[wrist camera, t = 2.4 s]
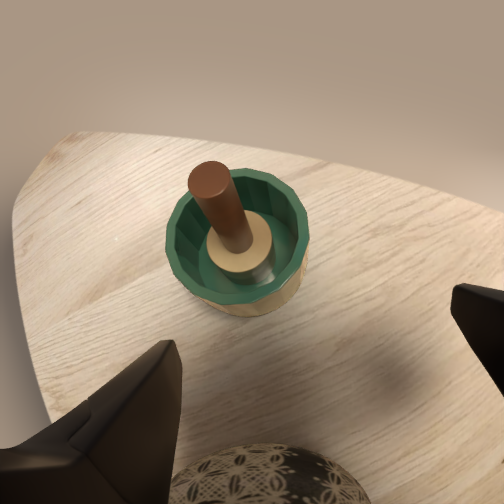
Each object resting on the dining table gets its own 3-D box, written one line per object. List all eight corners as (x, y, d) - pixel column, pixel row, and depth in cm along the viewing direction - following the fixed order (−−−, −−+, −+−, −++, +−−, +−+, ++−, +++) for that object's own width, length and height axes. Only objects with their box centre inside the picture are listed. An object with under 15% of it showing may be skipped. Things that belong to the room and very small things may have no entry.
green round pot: (284, 333, 21) (280, 325, 16) (177, 294, 23) (144, 275, 18) (320, 225, 23) (325, 187, 18) (218, 196, 25) (199, 157, 20)
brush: (264, 293, 21) (235, 236, 12) (210, 274, 22) (146, 210, 13) (283, 239, 23) (271, 149, 13) (231, 224, 23) (187, 133, 14)
